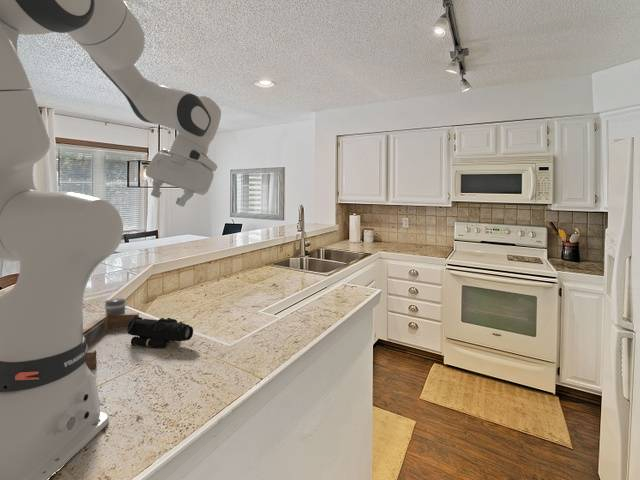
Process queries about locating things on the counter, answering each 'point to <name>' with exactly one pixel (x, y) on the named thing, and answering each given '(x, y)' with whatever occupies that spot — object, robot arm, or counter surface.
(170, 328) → the night vision scope
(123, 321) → the bracket
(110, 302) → the gray domed cylinder
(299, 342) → the counter surface
